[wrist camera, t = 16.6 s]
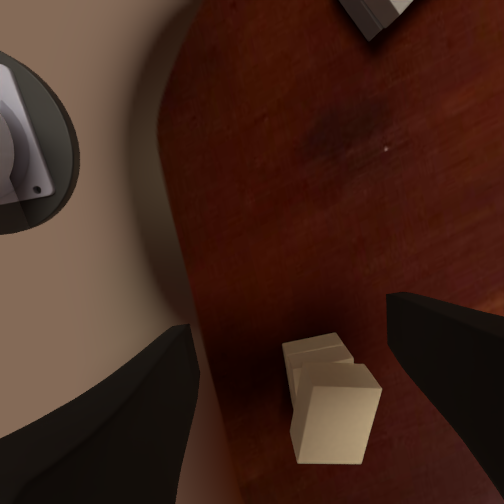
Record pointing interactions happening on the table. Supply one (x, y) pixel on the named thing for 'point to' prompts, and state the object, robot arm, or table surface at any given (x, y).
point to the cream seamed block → (312, 356)
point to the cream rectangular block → (333, 412)
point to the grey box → (374, 14)
